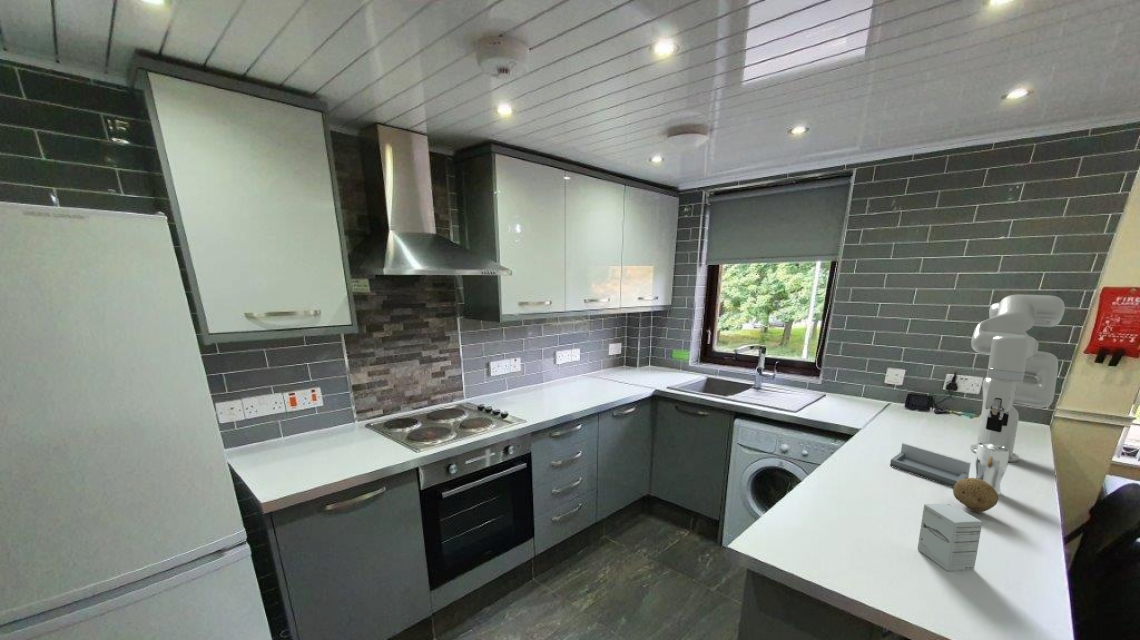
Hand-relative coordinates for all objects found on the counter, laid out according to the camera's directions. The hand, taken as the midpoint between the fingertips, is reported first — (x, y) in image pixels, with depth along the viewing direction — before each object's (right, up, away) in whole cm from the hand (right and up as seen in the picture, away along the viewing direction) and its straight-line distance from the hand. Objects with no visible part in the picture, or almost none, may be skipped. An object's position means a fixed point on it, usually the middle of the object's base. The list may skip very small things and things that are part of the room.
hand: (996, 427), depth 120 cm
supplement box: (-44, -25, -28) cm, 58 cm away
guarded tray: (-9, -20, +14) cm, 26 cm away
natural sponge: (-17, -23, -8) cm, 29 cm away
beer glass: (0, -22, +3) cm, 22 cm away
